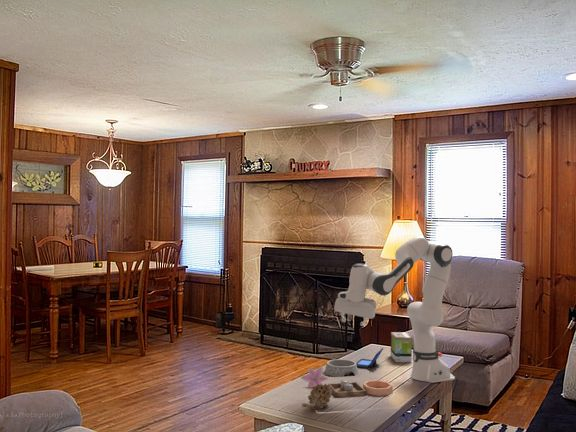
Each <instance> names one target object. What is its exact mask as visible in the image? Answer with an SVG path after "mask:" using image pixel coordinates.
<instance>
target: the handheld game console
mask: <svg viewBox="0 0 576 432" xmlns="http://www.w3.org/2000/svg"><path fill="white" fill-rule="evenodd" d="M383 350H384V348H381V349H379V351H378V352H377V353H376V354H375V355H374V357H373V358H372V359H368V358H361V359H359V360H358V361H357V362H356V365H357V369H365V370H366V369H367V370H370V369H371V368H373V366H374V365H375V364H376V363H377V360H378V359H379V357H380V355H381V353H382V352H383Z"/></svg>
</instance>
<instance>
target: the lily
mask: <svg viewBox="0 0 576 432" xmlns="http://www.w3.org/2000/svg"><path fill="white" fill-rule="evenodd" d="M323 369H324V367H323V366H322V365H321V366H319V367H318V368H316V369H313V368H312V367H310V366H309V367H308V374H304V375H302V376H300V379H302V380H304V381H305V382H308V384H307V388H309V389H310V388H311V389H313V388H312V387H314V386H317V384H319V385H320V384H321V385H323V383H322V382H325V381H327V380H328V379H329V378H328V377H326V376H323Z"/></svg>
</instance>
